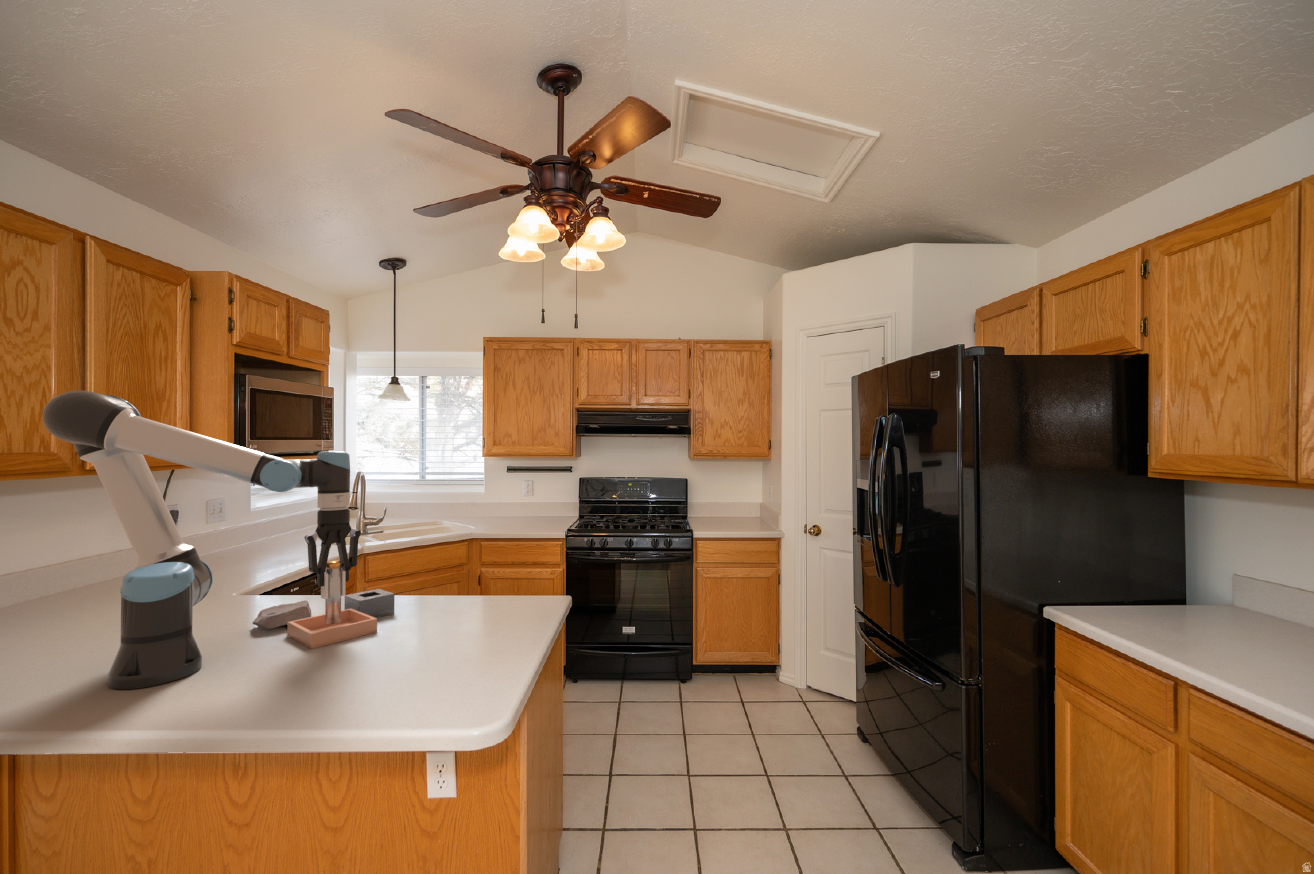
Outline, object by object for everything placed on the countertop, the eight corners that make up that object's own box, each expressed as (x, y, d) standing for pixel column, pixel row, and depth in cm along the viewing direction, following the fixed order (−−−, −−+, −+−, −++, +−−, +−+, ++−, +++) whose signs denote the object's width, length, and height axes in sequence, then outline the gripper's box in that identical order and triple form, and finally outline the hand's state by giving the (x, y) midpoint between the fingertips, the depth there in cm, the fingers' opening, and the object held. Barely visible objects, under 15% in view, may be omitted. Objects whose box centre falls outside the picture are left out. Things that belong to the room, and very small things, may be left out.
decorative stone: (255, 636, 145) (255, 613, 145) (252, 627, 153) (253, 606, 153) (313, 626, 154) (314, 605, 154) (308, 618, 161) (309, 598, 161)
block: (359, 621, 157) (359, 600, 157) (344, 615, 163) (344, 595, 163) (394, 613, 164) (394, 593, 165) (378, 607, 171) (378, 588, 171)
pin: (328, 624, 144) (329, 563, 144) (323, 622, 146) (323, 562, 147) (343, 621, 147) (343, 561, 147) (337, 619, 149) (337, 560, 149)
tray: (310, 648, 135) (311, 634, 135) (287, 635, 145) (287, 621, 145) (377, 631, 148) (377, 618, 148) (351, 620, 158) (351, 608, 158)
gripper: (304, 512, 138) (303, 605, 138) (372, 506, 152) (371, 591, 151) (293, 510, 143) (292, 600, 142) (359, 505, 156) (359, 587, 156)
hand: (333, 596), depth 147 cm, fingers closed on pin, 4 cm apart
